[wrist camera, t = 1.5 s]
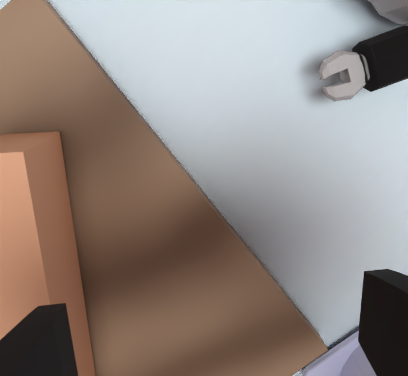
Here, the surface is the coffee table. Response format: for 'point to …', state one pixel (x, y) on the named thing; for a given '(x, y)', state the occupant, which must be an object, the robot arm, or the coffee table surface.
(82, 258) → the tong board
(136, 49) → the coffee table surface
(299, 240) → the coffee table surface
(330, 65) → the robot toy
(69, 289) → the tong arm
